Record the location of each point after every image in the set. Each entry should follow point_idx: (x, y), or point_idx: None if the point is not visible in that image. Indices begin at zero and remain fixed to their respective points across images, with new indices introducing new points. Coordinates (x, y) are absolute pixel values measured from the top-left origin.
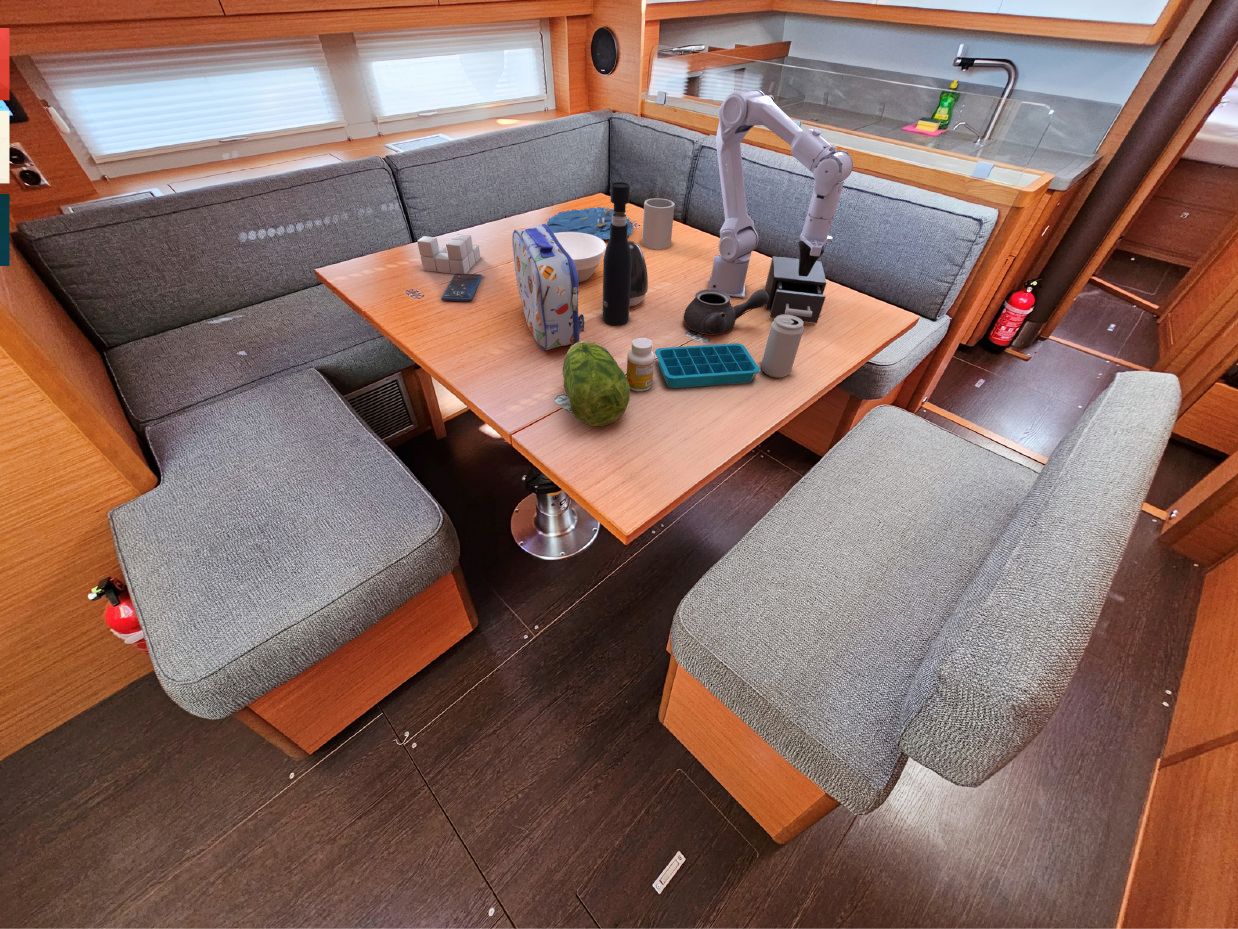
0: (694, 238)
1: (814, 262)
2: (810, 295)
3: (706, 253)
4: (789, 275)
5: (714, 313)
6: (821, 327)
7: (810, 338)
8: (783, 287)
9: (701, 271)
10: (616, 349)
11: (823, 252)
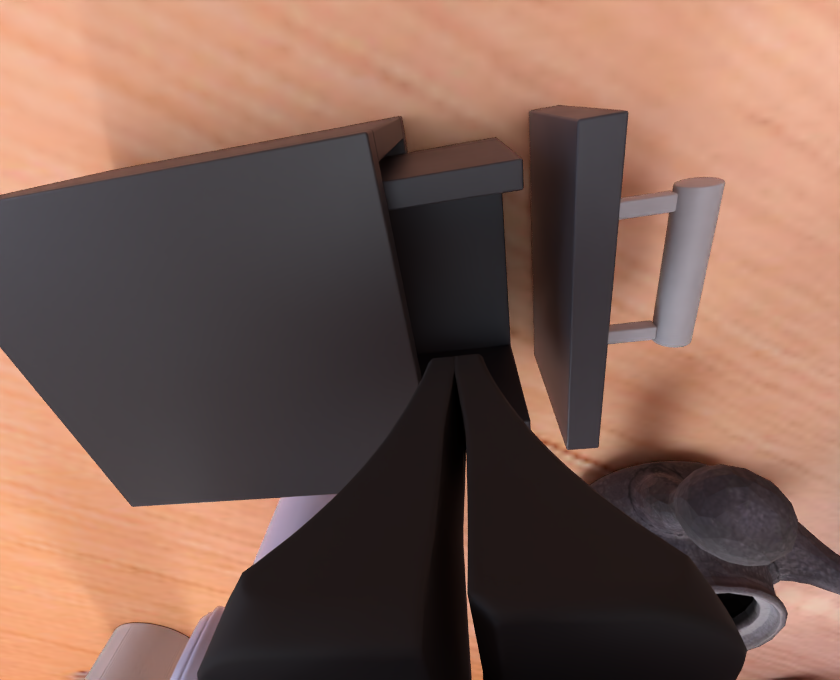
0: (25, 589)
1: (541, 446)
2: (614, 249)
3: (101, 558)
4: (370, 420)
5: (775, 581)
6: (552, 63)
7: (711, 125)
8: None
9: (247, 556)
10: (806, 634)
11: (679, 571)
